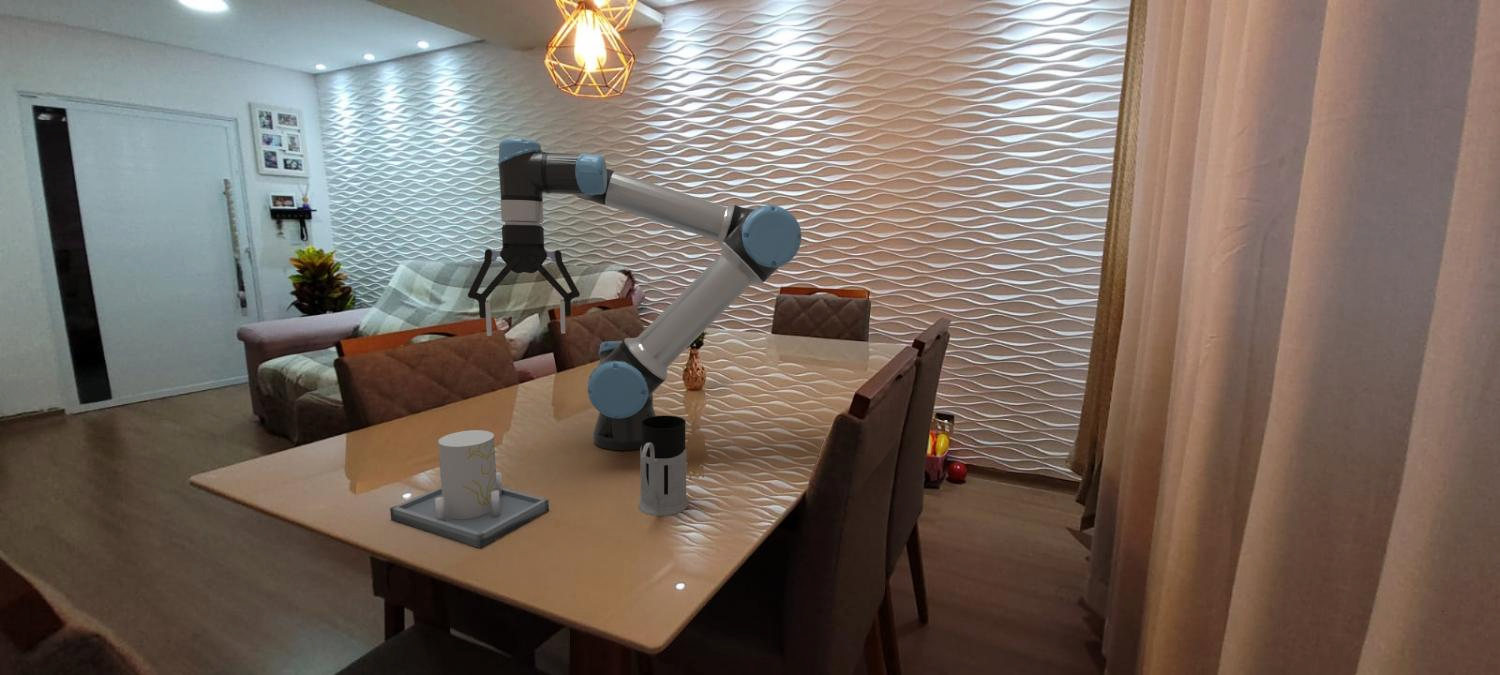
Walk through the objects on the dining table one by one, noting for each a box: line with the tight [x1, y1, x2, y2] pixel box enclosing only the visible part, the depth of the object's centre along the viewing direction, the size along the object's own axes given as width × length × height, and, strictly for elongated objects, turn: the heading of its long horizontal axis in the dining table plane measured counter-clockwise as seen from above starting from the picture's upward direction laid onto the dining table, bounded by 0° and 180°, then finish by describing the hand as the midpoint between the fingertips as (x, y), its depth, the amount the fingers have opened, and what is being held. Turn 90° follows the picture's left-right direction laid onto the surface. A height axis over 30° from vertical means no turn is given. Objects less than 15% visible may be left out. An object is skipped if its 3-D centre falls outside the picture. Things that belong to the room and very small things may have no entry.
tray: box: [389, 471, 550, 549], centre depth 97 cm, size 20×14×5 cm
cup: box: [437, 429, 497, 519], centre depth 96 cm, size 8×8×12 cm
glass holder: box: [637, 415, 690, 517], centre depth 99 cm, size 9×14×15 cm, turn 170°
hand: (527, 333), depth 116 cm, fingers open, 13 cm apart
